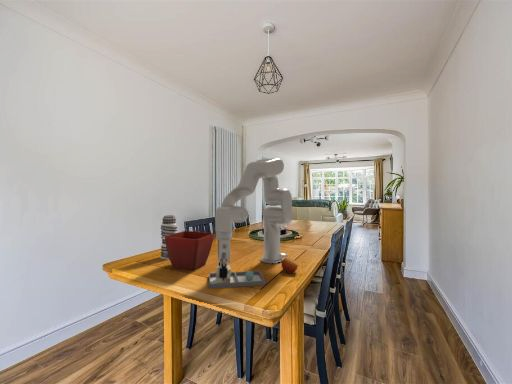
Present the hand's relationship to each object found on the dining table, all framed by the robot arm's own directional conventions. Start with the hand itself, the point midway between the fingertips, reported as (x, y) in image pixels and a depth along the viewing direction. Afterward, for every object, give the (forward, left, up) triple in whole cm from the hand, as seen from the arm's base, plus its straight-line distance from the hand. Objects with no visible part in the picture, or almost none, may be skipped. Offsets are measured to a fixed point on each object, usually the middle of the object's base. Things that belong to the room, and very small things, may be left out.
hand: (222, 273), depth 102 cm
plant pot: (+16, -25, -4) cm, 30 cm away
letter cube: (0, 0, -4) cm, 4 cm away
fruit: (-34, -9, -4) cm, 36 cm away
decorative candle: (+30, -43, -4) cm, 52 cm away
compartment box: (-6, 0, -4) cm, 7 cm away
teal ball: (-12, 0, -4) cm, 13 cm away
